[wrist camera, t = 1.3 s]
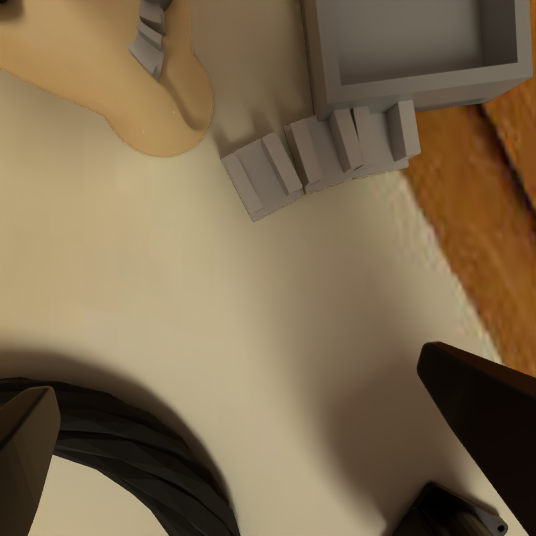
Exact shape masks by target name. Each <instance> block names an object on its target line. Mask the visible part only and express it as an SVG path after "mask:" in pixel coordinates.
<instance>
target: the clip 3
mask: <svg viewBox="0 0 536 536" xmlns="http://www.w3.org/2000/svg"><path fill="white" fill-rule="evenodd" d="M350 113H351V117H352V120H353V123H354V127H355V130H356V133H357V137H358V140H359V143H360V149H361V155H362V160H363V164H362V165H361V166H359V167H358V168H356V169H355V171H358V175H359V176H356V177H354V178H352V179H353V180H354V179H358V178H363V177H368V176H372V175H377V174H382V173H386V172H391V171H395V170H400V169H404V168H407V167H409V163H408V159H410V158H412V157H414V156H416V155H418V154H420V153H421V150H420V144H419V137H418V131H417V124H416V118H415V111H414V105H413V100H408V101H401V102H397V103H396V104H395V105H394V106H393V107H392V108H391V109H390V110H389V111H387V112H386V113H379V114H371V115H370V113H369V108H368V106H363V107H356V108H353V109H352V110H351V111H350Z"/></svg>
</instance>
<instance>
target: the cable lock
mask: <svg viewBox="0 0 536 536" xmlns="http://www.w3.org/2000/svg"><path fill="white" fill-rule="evenodd" d="M43 386H50V387H52V388H53V390H54V392H55V396H56V400H57V404H58V408H59V412H60V418H61V421H60V428H59V432H58V436H57V440H56V443H55V447H54V451H53V454H52V455H56V456H59V457H62V458H64V459H67V460H70V461H73V462H76V463H79V464H82V465H85V466H88V467H91V468H94V469H96V470H98V471H99V472H101V473H102V474H104V475H105V476H107V477H108V478H110V479H111V480H113V481H114V482H116V483H117V484H119V485H120V486H122V487H123V488H125V489H126V490H127V491H129V492H130V493H132V494H133V495H134V496H135V497H137V498H138V499H139V500H140V501H141V502H142V503H143V504H144V505H145V506H147V507H148V508H149V509H150V510H151V511H152V513H153V514H154V515H155V517H156V518H157V520H158V521H159V522H160V524H161V525H162V527H163V528H164V529H165V531H166V532H167V533H168V535H169V536H240V533H239V529H238V526H237V523H236V520H235V517H234V514H233V511H232V510H231V509H230V508H229V503H228V500H227V498H226V497H225V495H224V493H223V492H222V490H221V488H220V487H219V485H218V483H217V482H216V480H215V479H214V477H213V475H212V474H211V472H210V471H209V470H208V469H207V468H206V467H205V466H204V465H203V464H202V463H201V462H200V461H199V460H198V459H197V458H196V457H195V456H194V455H193V454H192V452H191V451H190V449H189V448H188V446H187V445H186V443H185V442H184V440H183V439H182V438H181V437H180V436H179V435H177V434H176V433H175V432H174V431H172V430H171V429H170V428H168V427H167V426H166V425H164V424H163V423H162V422H161V421H159V420H158V419H157V418H155V417H154V416H153V415H151V414H150V413H149V412H146V411H144V410H141V409H138V408H136V407H133V406H131V405H128V404H125V403H123V402H122V401H120V400H119V399H117V398H115V397H114V396H112V395H111V394H109V393H105V392H101V391H96V390H92V389H88V388H83V387H79V386H75V385H70V384H66V383H62V382H51V381H35V380H30V379H26V378H21V377H17V378H4V379H0V408H1V407H2V406H3V405H5V404H6V403H8V402H9V401H10V400H12V399H13V398H15V397H16V396H17V395H19V394H20V393H21V392H23V391H24V390H26V389H28V388H34V387H43Z"/></svg>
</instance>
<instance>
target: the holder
mask: <svg viewBox="0 0 536 536" xmlns="http://www.w3.org/2000/svg"><path fill="white" fill-rule="evenodd" d="M300 5H301V13H302V21H303V30H304V38H305V46H306V54H307V62H308V70H309V78H310V86H311V95H312V103H313V111H314V115H316V114H317V122H319V121H327V120H328V119H329V117H330V116H331V114H332V112H333V111H334V110H341V109H349V110H350V111H351V110H352V109H353V108H356V107H363V106H368V108H369V113H370V115H371V114H379V113H386V112H387V111H389V110H390V109H391V108H392V107H393V106H394V105H395V104H396V103H397V102H401V101H408V100H413V105H414V111H415V112H419V111H427V110H434V109H441V108H449V107H456V106H464V105H471V104H478V103H486V102H489V101H491V100H492V99H494V98H496V97H498V96H499V95H501V94H503V93H505V92H507V91H508V90H510V89H512V88H514V87H515V86H517V85H519V84H521V83H522V82H524V81H526V80H528V79H529V78H531V77H533V67H532V46H531V24H530V3H529V0H300Z"/></svg>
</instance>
